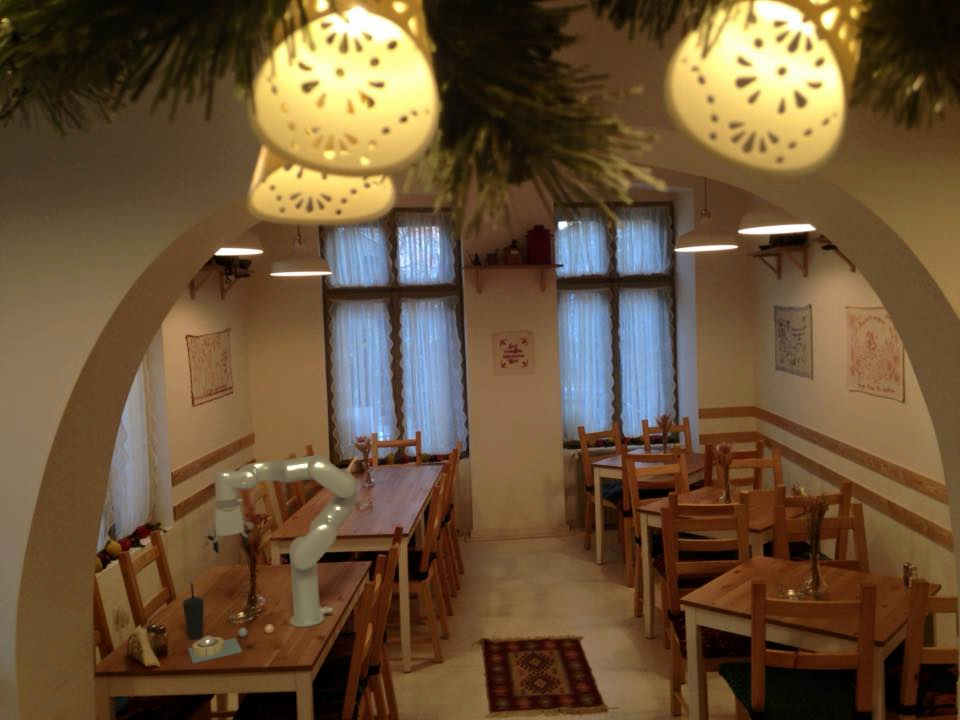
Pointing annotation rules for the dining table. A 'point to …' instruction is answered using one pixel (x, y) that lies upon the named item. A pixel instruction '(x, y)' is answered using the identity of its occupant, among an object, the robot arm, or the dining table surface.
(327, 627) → the dining table surface
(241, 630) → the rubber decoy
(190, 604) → the drinking cup
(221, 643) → the bearing housing
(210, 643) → the steel ball
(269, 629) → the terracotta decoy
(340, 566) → the dining table surface
